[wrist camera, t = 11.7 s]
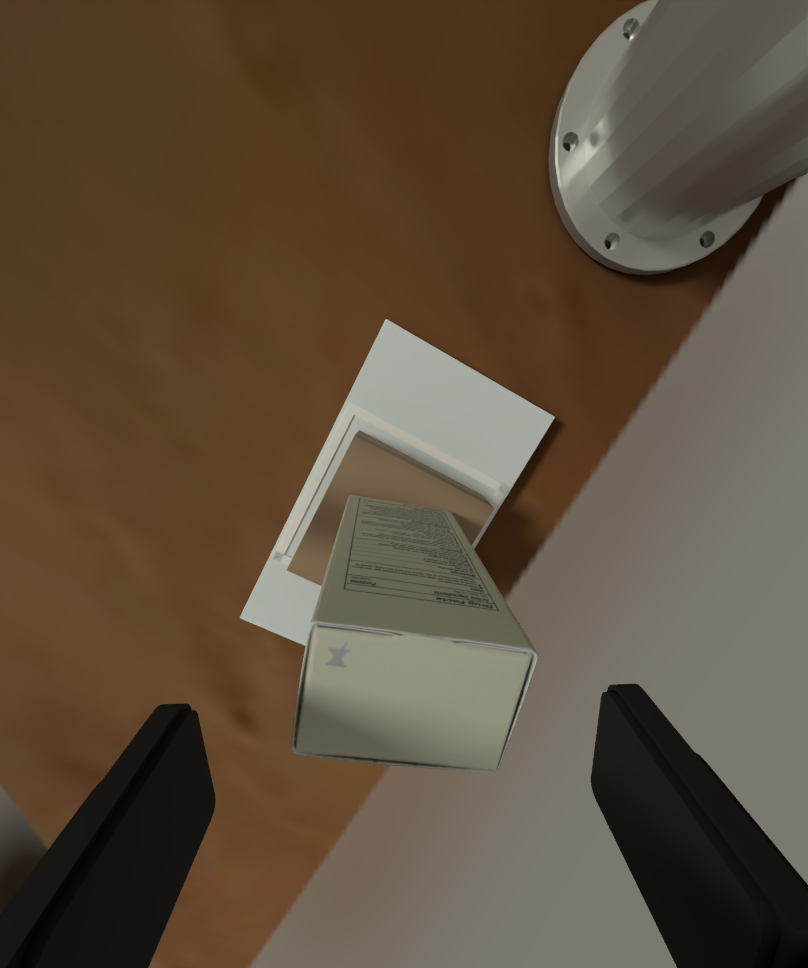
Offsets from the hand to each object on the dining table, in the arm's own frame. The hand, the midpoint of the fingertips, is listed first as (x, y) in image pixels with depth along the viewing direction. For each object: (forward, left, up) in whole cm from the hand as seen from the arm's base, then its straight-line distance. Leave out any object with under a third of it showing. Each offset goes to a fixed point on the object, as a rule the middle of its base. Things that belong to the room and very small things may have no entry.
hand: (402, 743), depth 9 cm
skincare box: (0, 0, -14) cm, 14 cm away
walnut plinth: (0, 0, -16) cm, 16 cm away
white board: (0, 0, -18) cm, 17 cm away
